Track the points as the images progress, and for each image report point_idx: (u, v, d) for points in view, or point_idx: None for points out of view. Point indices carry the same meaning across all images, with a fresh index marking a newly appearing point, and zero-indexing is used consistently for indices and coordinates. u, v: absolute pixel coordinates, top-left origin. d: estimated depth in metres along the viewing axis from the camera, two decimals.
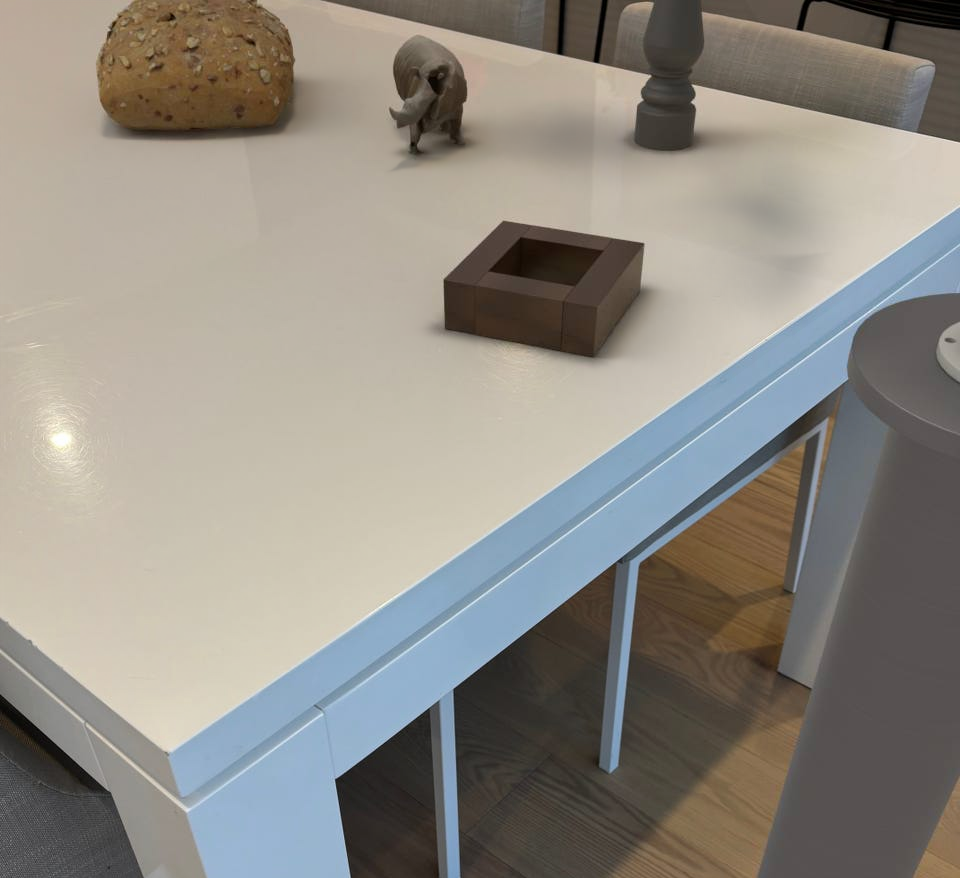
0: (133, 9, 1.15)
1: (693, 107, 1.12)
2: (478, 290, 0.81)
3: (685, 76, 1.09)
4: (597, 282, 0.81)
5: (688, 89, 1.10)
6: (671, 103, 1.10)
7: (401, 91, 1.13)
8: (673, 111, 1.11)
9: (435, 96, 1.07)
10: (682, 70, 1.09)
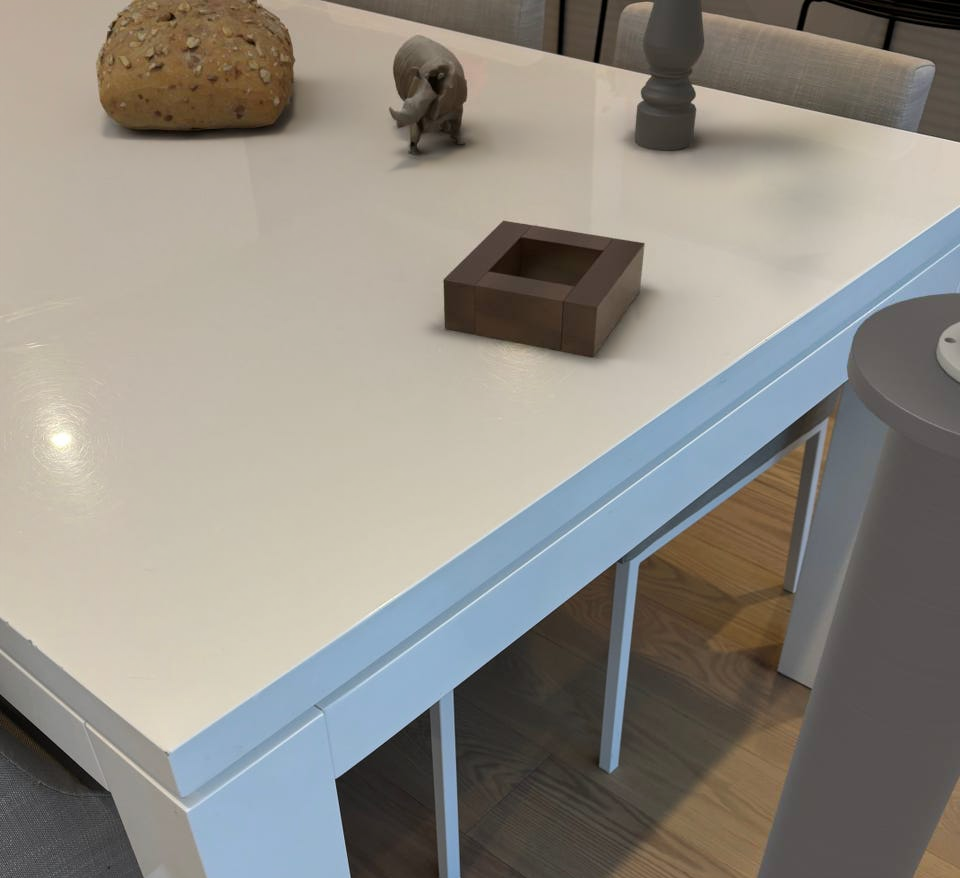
0: (133, 9, 1.15)
1: (693, 107, 1.12)
2: (478, 290, 0.81)
3: (685, 76, 1.09)
4: (597, 282, 0.81)
5: (688, 89, 1.10)
6: (671, 103, 1.10)
7: (401, 91, 1.13)
8: (673, 111, 1.11)
9: (435, 96, 1.07)
10: (682, 70, 1.09)
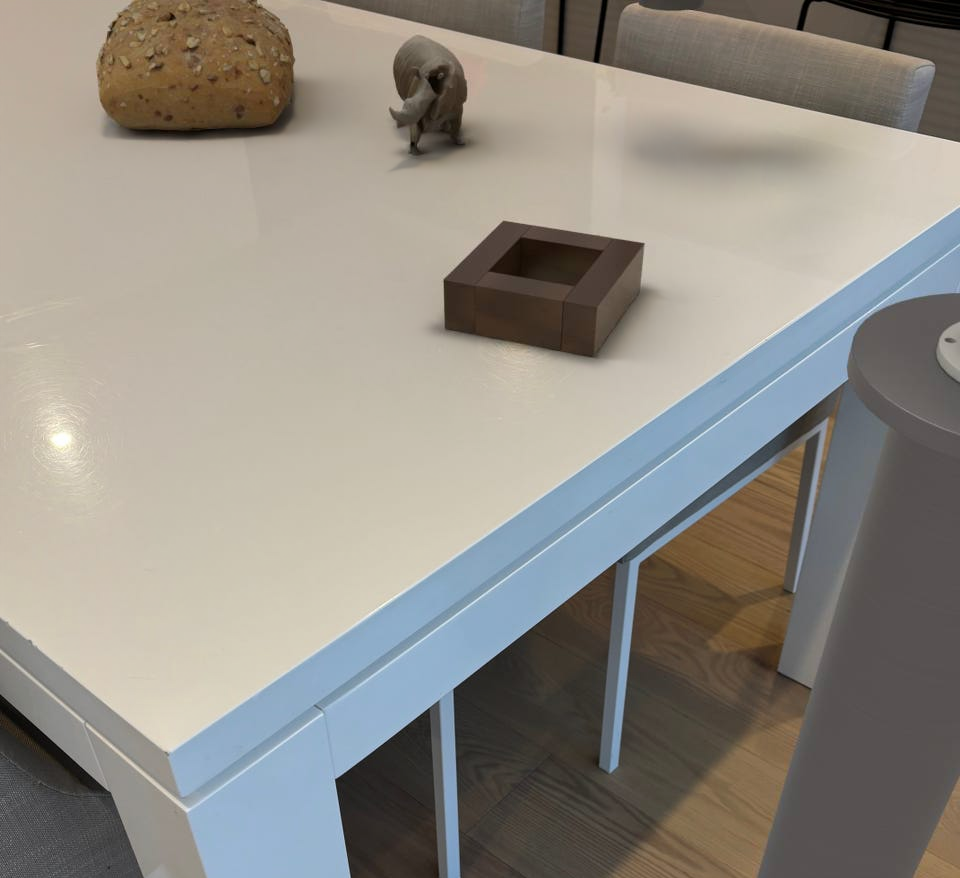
0: (133, 9, 1.15)
1: None
2: (478, 290, 0.81)
3: None
4: (597, 282, 0.81)
5: None
6: None
7: (401, 91, 1.13)
8: None
9: (435, 96, 1.07)
10: None
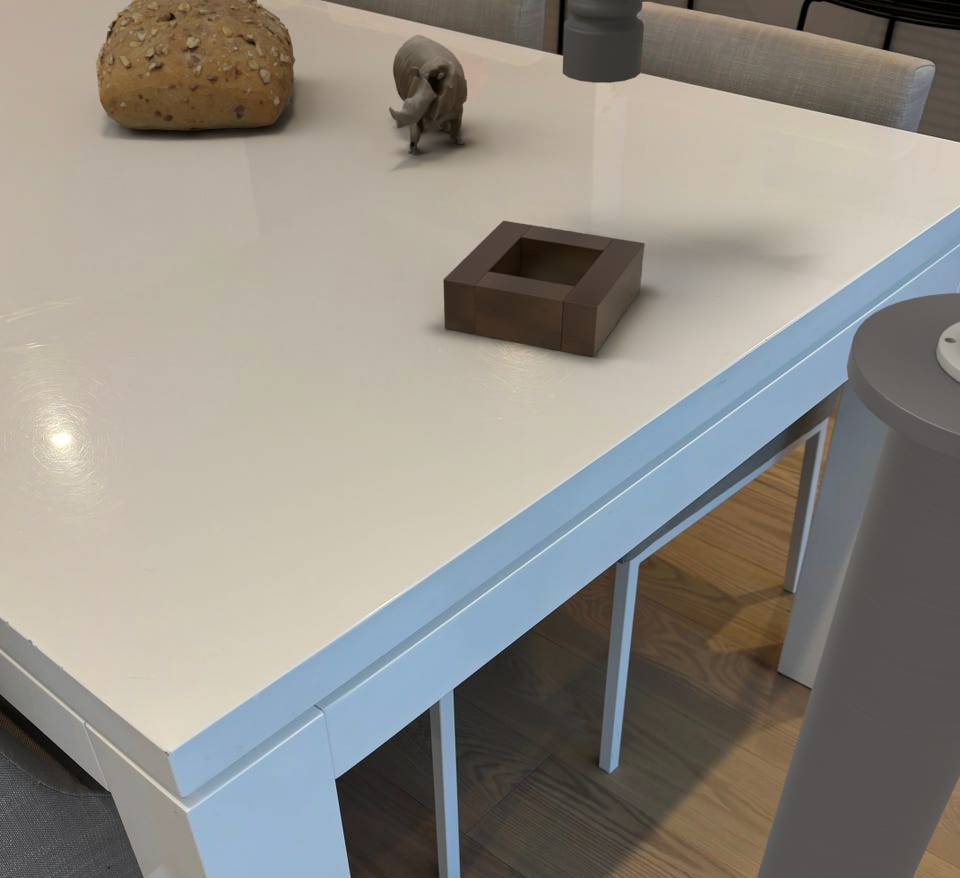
0: (133, 9, 1.15)
1: (639, 23, 0.82)
2: (478, 290, 0.81)
3: None
4: (597, 282, 0.81)
5: None
6: (606, 15, 0.80)
7: (401, 91, 1.13)
8: (610, 27, 0.81)
9: (435, 96, 1.07)
10: None
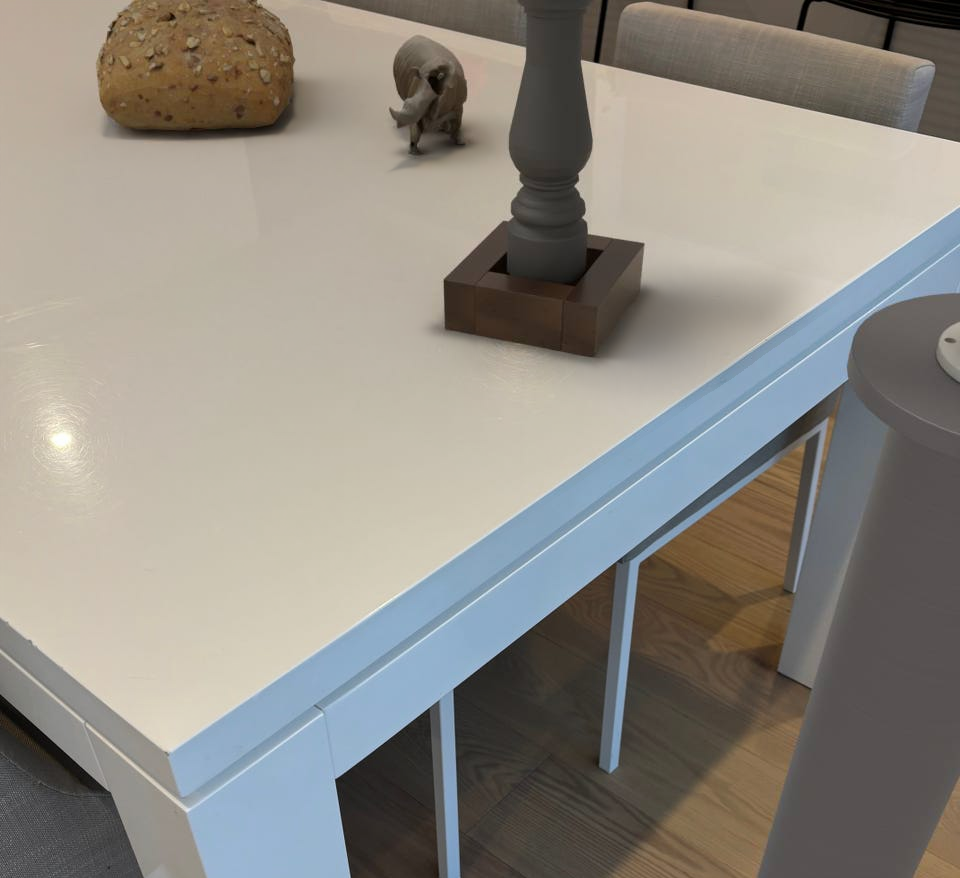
0: (133, 9, 1.15)
1: (583, 226, 0.81)
2: (478, 290, 0.81)
3: (568, 187, 0.78)
4: (597, 282, 0.81)
5: (574, 204, 0.79)
6: (549, 224, 0.79)
7: (401, 91, 1.13)
8: (554, 234, 0.80)
9: (435, 96, 1.07)
10: (563, 179, 0.77)
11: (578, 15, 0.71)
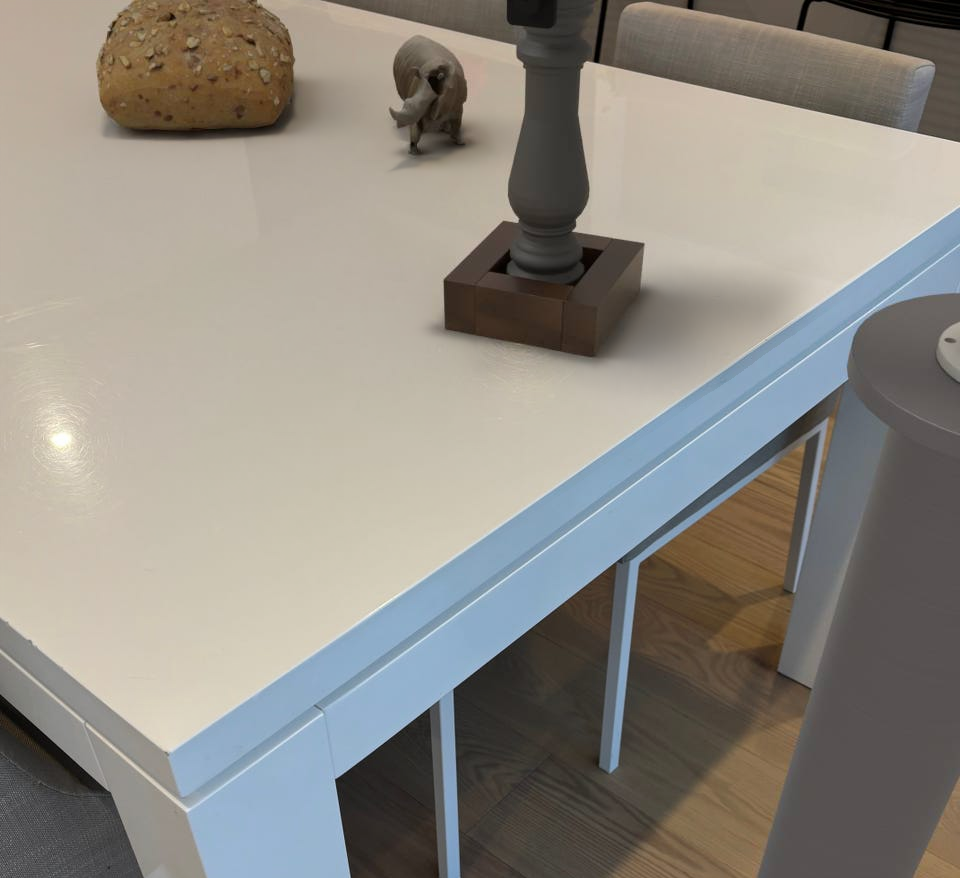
0: (133, 9, 1.15)
1: (580, 270, 0.83)
2: (478, 290, 0.81)
3: (565, 233, 0.80)
4: (597, 282, 0.81)
5: (571, 249, 0.81)
6: (547, 268, 0.81)
7: (401, 91, 1.13)
8: (551, 278, 0.82)
9: (435, 96, 1.07)
10: (560, 226, 0.80)
11: (575, 71, 0.73)
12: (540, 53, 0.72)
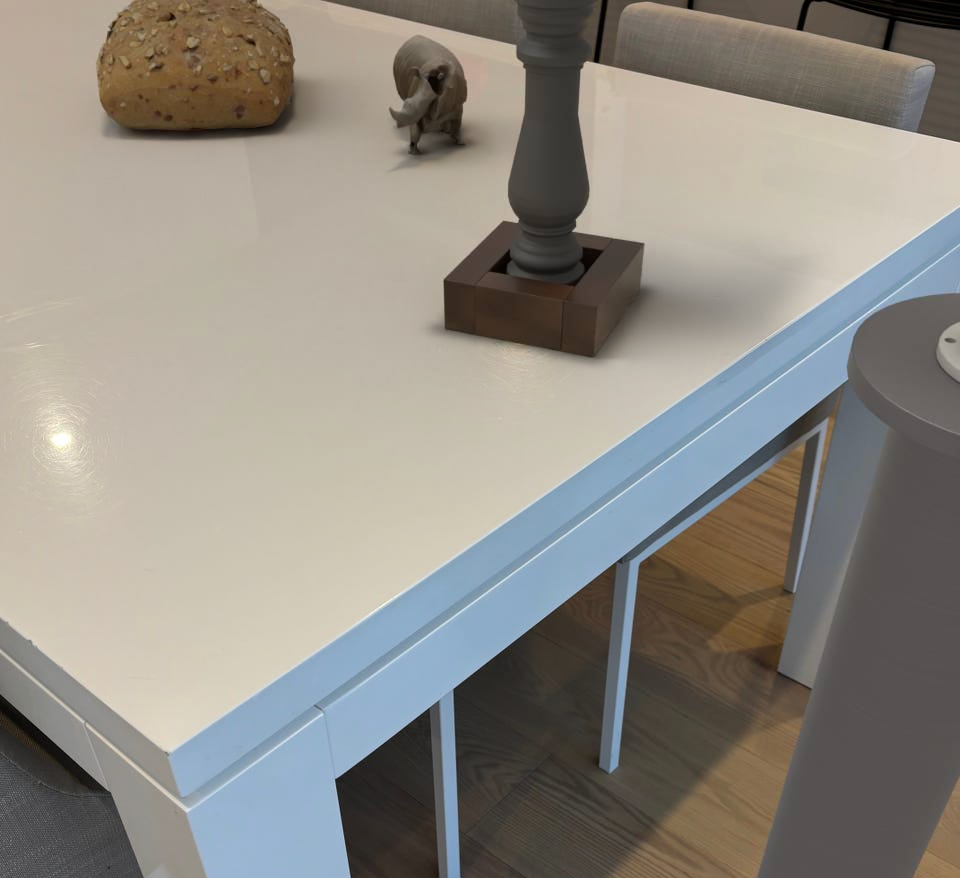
0: (133, 9, 1.15)
1: (580, 270, 0.83)
2: (478, 290, 0.81)
3: (565, 233, 0.80)
4: (597, 282, 0.81)
5: (571, 249, 0.81)
6: (547, 268, 0.81)
7: (401, 91, 1.13)
8: (551, 278, 0.82)
9: (435, 96, 1.07)
10: (560, 226, 0.80)
11: (575, 71, 0.73)
12: (540, 53, 0.72)
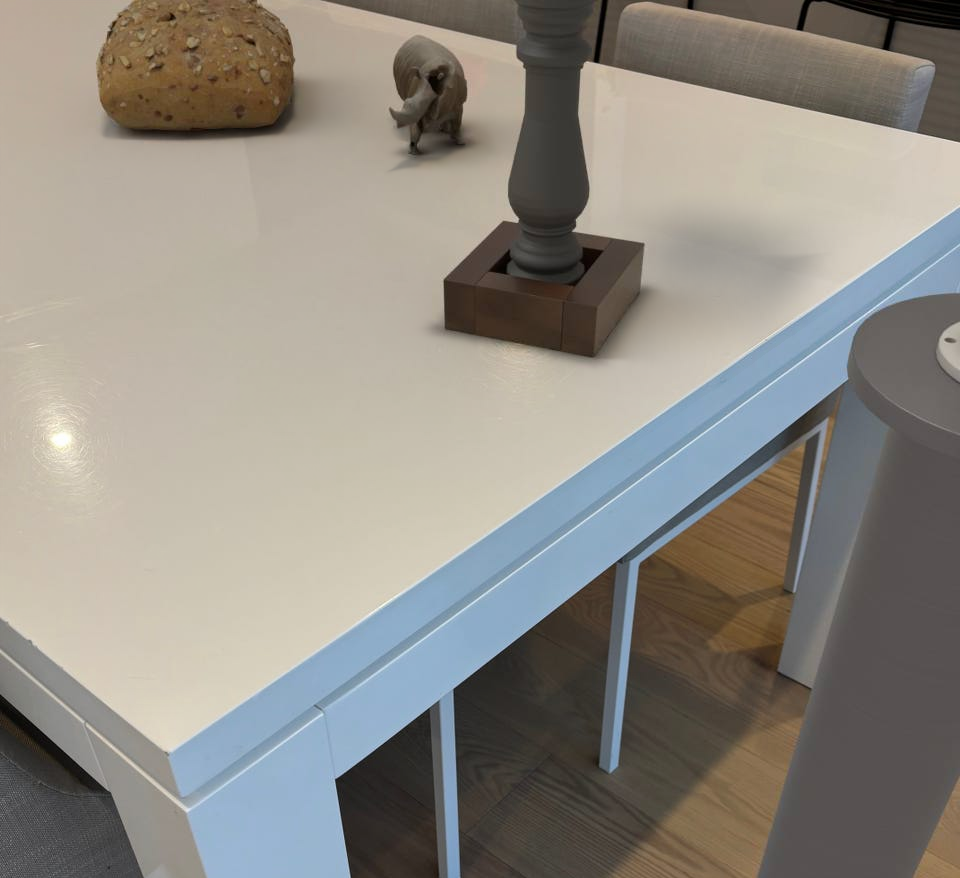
0: (133, 9, 1.15)
1: (580, 270, 0.83)
2: (478, 290, 0.81)
3: (565, 233, 0.80)
4: (597, 282, 0.81)
5: (571, 249, 0.81)
6: (547, 268, 0.81)
7: (401, 91, 1.13)
8: (551, 278, 0.82)
9: (435, 96, 1.07)
10: (560, 226, 0.80)
11: (575, 71, 0.73)
12: (540, 53, 0.72)
